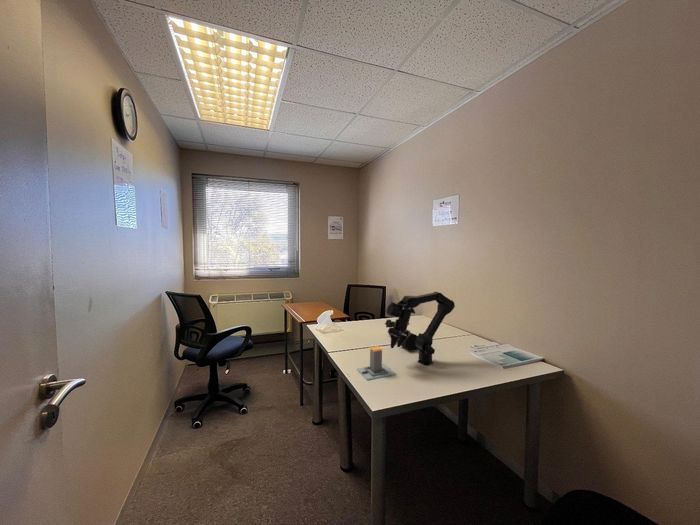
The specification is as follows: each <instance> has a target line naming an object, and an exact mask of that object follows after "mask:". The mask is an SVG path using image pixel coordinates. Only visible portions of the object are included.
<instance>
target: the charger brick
mask: <svg viewBox="0 0 700 525" xmlns="http://www.w3.org/2000/svg"><path fill="white" fill-rule="evenodd" d="M369 348H370V349H369V351H370V352H369V356H370V357H369V366H370V370H371V371H372V372H373V373H374V374H375V373H380V372H382V364H383V349H382V348H381V347H380V346H379V345H376V346H370V347H369Z"/></svg>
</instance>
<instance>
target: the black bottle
mask: <svg viewBox="0 0 700 525" xmlns="http://www.w3.org/2000/svg"><path fill="white" fill-rule="evenodd" d="M388 336H389V337H390V338H391V336H390V335H389V334H388ZM406 336H407V335H406ZM417 337H418V335H417V334H415V333H413V332H411V334H410V336H408V338H407V339H406V340H405V341H404V342H403V344H402V345H401V346H400V347H402V348H404V349H406V350H408V351H410V352H416V351H417V350H418V348H417V346H416V343H415V341H416V338H417Z"/></svg>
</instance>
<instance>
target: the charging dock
mask: <svg viewBox="0 0 700 525" xmlns="http://www.w3.org/2000/svg"><path fill="white" fill-rule="evenodd" d="M356 371H357V372H358V373H359V374H360V375H361V376H362V377H363V378H364V379H365V380H366V381H370V380H375V379H380V378H381V379H382V378H385V377H390V376H395V375H397V373H396V372H395V371H393V369H391V368H390V367H388V366H387V365H386V364H385V363H382V372H380V373H375V374H374V373H373V372H372V371H371V370H370V365H369V366H366V367H365V366H364V367H359V368H356Z"/></svg>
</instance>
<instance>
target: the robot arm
mask: <svg viewBox="0 0 700 525" xmlns="http://www.w3.org/2000/svg"><path fill="white" fill-rule="evenodd" d="M434 301H435V302H436V303H437V309H436V310H437V311H436V313H435V314H434V316H433V318H432V319H431V321H430V322H429V324H428V326H427V328H426V330H425V331H424V332H423V333H420V332H419V333H418V335H417V336H418V337H417V338H416V341H415V343H416V346H417V348H418V349H417V350H419V352H418V360H417V362H418V363H420V364H423V365H424V366H430V365H431V364H434V361H433V355H434V354H435V351H436V349H435V348H433V346H432V345H433V341H434V340H433V337H435V334H436V333H437V330H438V329H439V328H440V325H441V324H442V323H443V320H444V319H445V317H446V316H447V315H449V314H450V313H451V312H452V311H453V310H454V309H455V306H456V305H455V302H454V300H452V299H449V298H448V297H446V296H445V295H444V294H443V293H442V292H439V291H434V292H430V293H425V294H419V295H404V296H403V297H402V299H401V300H400V301H399V302H397V303H395V302H392V301H391V302H390V304H389V305H388V306H387V307H386V314H387V316H392V317H395V318H396V319H395V320H394V321H392V320H391V319H386V321H385V323H384V325H385V328H388V330H387V333H388V336H389V335H390V336H391V337H390V336H389V337H390V349H394V347H395V346H396V348H400V347H402V346H401V345H402V344H403V342H404V341H405V340H406V339H407V338H408V336H410V334H411V333H412V332H411V330H409V329H408V326H410V319H411V316H412V314H416V311H415V308H416V307H418V306H420V305H421V304H424V303H429V302H434ZM406 335H407V336H406Z"/></svg>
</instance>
